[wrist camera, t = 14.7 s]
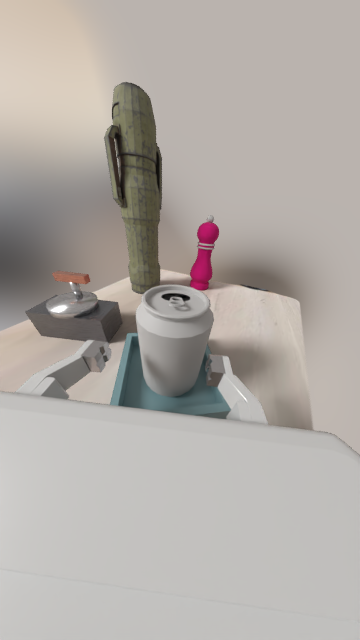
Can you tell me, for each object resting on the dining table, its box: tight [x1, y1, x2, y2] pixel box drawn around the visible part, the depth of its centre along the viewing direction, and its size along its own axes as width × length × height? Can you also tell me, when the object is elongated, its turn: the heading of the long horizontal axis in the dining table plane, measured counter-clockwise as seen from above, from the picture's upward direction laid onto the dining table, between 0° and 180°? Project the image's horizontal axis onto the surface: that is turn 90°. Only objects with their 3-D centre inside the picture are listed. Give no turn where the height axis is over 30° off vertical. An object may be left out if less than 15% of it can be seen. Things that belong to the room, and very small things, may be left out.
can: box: [136, 285, 214, 397], centre depth 16 cm, size 8×8×12 cm
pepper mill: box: [190, 215, 219, 290], centre depth 42 cm, size 7×7×20 cm
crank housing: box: [26, 271, 122, 343], centre depth 24 cm, size 7×12×10 cm, turn 85°
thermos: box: [104, 82, 162, 294], centre depth 34 cm, size 9×12×35 cm
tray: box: [110, 333, 231, 419], centre depth 19 cm, size 13×13×3 cm
